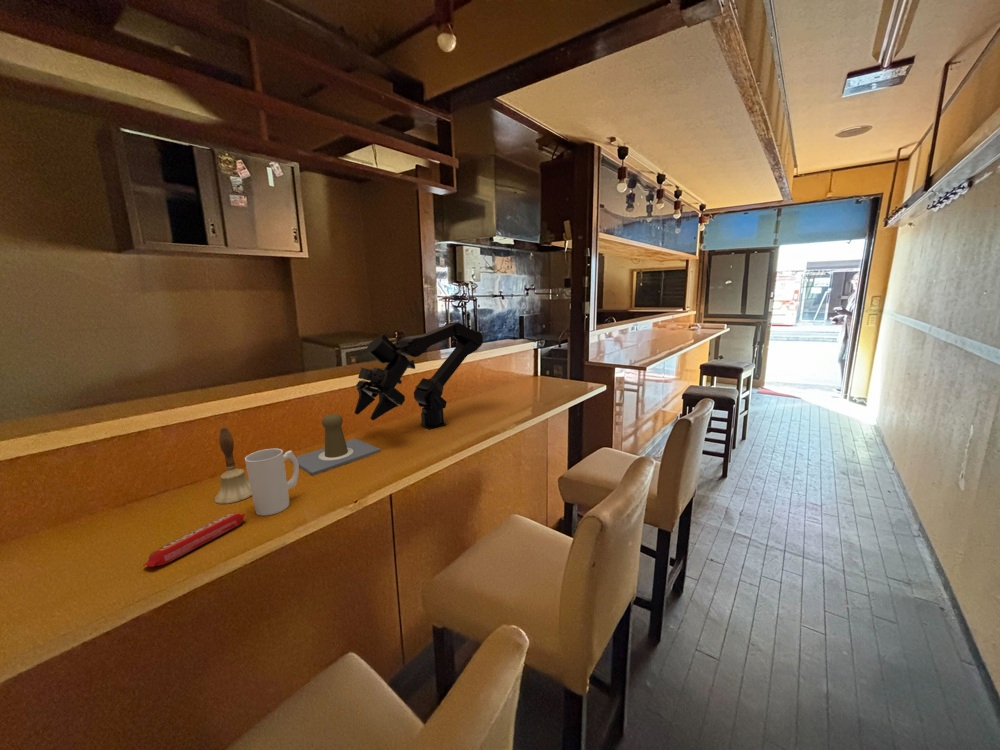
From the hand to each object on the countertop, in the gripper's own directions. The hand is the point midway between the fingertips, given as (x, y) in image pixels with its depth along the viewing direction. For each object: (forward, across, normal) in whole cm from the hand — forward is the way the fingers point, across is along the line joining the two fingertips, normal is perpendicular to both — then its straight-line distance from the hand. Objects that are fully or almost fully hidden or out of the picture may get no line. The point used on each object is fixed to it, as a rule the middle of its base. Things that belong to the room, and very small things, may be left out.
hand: (363, 416), depth 115 cm
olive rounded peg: (+12, 0, 0) cm, 12 cm away
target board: (+13, 0, 0) cm, 13 cm away
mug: (+27, +16, -14) cm, 34 cm away
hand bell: (+30, +3, -18) cm, 35 cm away
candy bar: (+38, +19, -24) cm, 49 cm away
